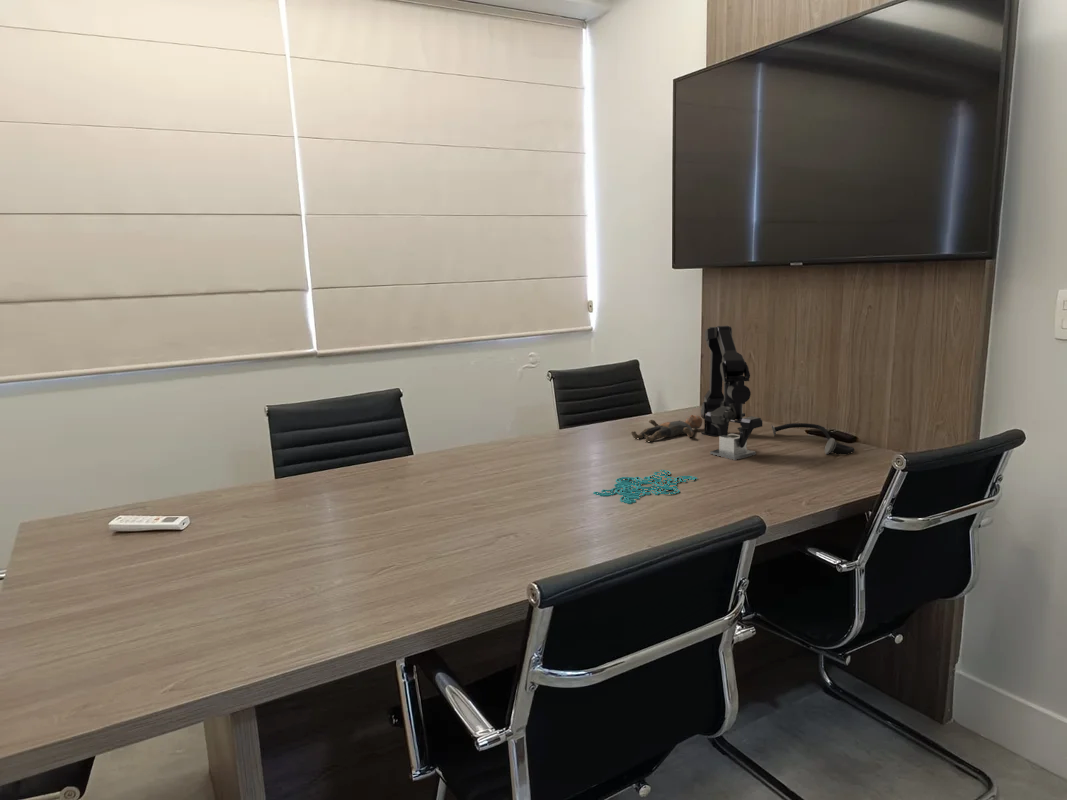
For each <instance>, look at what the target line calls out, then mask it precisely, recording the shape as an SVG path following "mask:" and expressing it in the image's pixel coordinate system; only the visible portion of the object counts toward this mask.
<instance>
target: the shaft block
mask: <svg viewBox="0 0 1067 800" xmlns="http://www.w3.org/2000/svg"><path fill="white" fill-rule="evenodd" d="M709 454H710V455H711V454H713V455H712V456H715V455H717V456H716V457H719V456H721V457H720V458H723V457H725V458H724V459H728V458H729V459H728V460H732V459H733V460H732V461H737V459H738V460H741V459H745V458H749V457H753V456H755V455H756V454H757V452H756V451H754V450H751V449H750V450H749V449H747V452H743V453H739V454H735V455H733V454H728V453H724V452H720V451H719V448H718V449H714V450H710V451H709ZM752 455H753V456H752ZM748 456H749V457H748Z"/></svg>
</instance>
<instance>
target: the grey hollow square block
mask: <svg viewBox="0 0 1067 800" xmlns="http://www.w3.org/2000/svg"><path fill="white" fill-rule="evenodd" d="M718 438H719V441H718V442H719V443H718V447H719V448H718V449H719V451H720V452H724V453H728V454H733V455H735V454H739V453H743V452H747V450H748V448H747V446H748V445H747V443H748V440H747V441H746V443H745V445H744V447H743V448H741V447H740V434H736V433H727V435H723V436H720V435H718Z"/></svg>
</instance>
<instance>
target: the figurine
mask: <svg viewBox="0 0 1067 800" xmlns="http://www.w3.org/2000/svg"><path fill="white" fill-rule="evenodd" d="M648 422H649V423H650V424H651V425H653V426H652V427H647V428H644V429H643V430H642V431H641V432H640V433H639V434H637V431H635V430H634V431H631V435H632V438H633V439H634V438H635V439H637V438H641V439H643V438H642V437H644V438H645V440H644V442H645V441H646V442H648V441H652V442H654V441H657V440H660V439H663V438H671V437H670V436H673V437H675V436H674V435H677V436H680V435H679V434H681V435H686V434H687V435H686V436H688V438H689V437H692V438H693V436H694V430H699V429H700V428H701V427H702V425H703V418H702V417H701V416H699V415H697V414H691V415H690V416H687V417H686V419H685V421H682V420H674V421H666V422H663V423H661V424H658V423H657V422H656V420H655V419H649V421H648ZM693 429H694V430H693ZM635 439H634V440H635ZM646 442H645V443H646Z"/></svg>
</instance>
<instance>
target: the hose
mask: <svg viewBox="0 0 1067 800" xmlns="http://www.w3.org/2000/svg"><path fill="white" fill-rule="evenodd" d="M794 428H795V429H796V428H797V429H798V428H806V429H807V428H809V429H816V430H820V431H821V432H823V434H824V435H825V437H826V439H827V442H826V444H825V446H824V454H826V455H832V454H835V453H836V454H835V455H839V454H846V455H849V454H848V453H850V454H852V453H851V452H853V453H854V452H855V447H854V446H848V445H845V444H842V443H839V442H836V439H835V438H833V437H831V436H830V434H829V432H828V431H827V429H826V427H825V426H822V425H820V424H815V423H808V422H807V423H806V422H805V423H800V422H797V423H795V422H793V423H791V422H790V423H786V424H781V425H778V426H775V425H774V424H771V429H772V433H773V436H774V437H775V436H776V435H777V433H776V432H779V431H783V430H787V429H794ZM829 453H830V454H829Z"/></svg>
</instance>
